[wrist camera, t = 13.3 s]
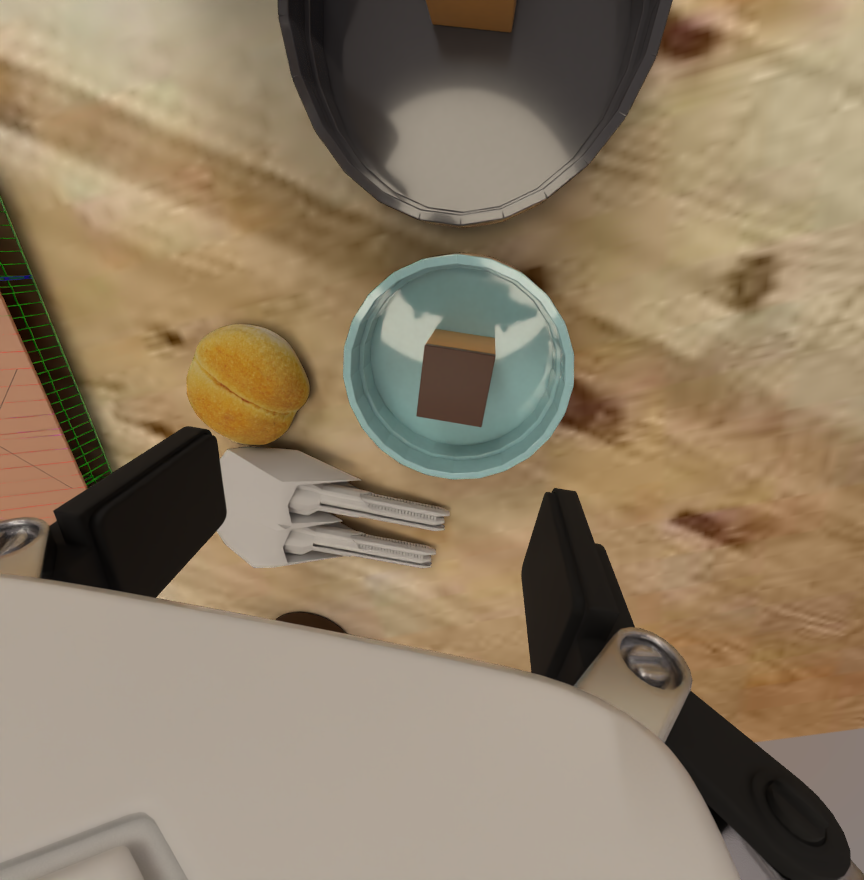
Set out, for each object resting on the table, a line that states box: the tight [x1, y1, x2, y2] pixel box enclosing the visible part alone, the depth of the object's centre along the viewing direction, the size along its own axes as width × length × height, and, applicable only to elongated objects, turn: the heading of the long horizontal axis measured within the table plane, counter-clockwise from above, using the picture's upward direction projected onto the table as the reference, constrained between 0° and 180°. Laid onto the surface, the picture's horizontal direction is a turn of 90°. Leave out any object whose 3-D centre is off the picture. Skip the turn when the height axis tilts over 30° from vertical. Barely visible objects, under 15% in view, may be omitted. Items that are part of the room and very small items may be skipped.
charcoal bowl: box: [278, 0, 673, 228], centre depth 19 cm, size 17×17×4 cm
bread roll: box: [187, 324, 310, 445], centre depth 29 cm, size 8×9×4 cm
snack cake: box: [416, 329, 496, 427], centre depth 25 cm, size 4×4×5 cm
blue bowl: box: [343, 252, 574, 479], centre depth 26 cm, size 14×14×4 cm
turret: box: [217, 446, 450, 568], centre depth 33 cm, size 10×20×5 cm, turn 75°
